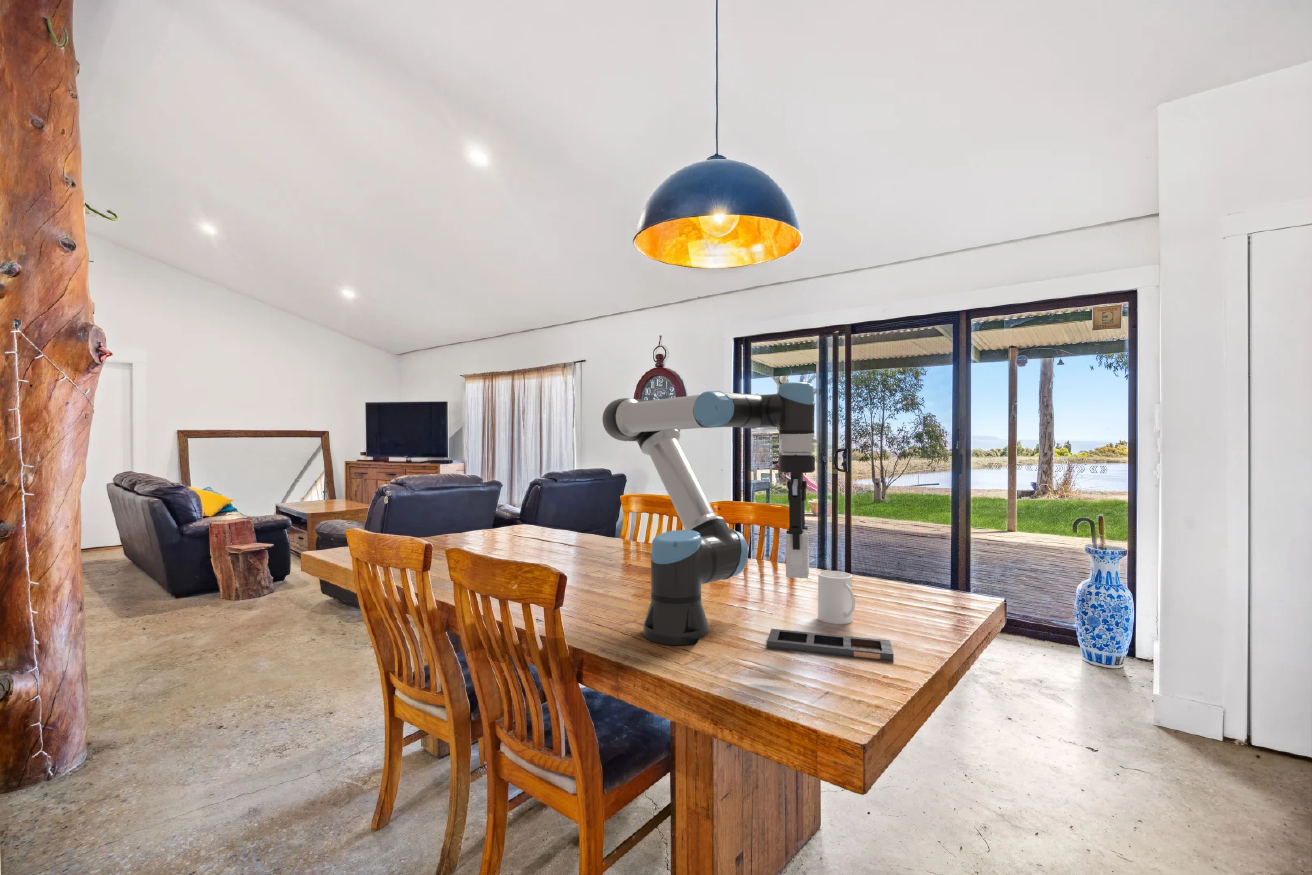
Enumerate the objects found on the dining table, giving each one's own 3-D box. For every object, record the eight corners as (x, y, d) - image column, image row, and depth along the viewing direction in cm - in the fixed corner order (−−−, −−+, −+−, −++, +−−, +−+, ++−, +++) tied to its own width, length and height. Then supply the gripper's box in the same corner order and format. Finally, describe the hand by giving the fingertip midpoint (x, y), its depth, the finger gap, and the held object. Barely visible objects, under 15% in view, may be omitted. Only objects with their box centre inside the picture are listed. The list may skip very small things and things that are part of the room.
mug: (867, 631, 138) (867, 580, 138) (834, 633, 136) (834, 582, 136) (841, 616, 150) (841, 569, 150) (811, 618, 148) (811, 571, 148)
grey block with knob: (786, 576, 125) (785, 532, 125) (788, 572, 129) (787, 529, 129) (807, 578, 123) (807, 533, 123) (809, 573, 128) (808, 530, 128)
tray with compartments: (767, 652, 124) (767, 641, 124) (771, 639, 132) (771, 628, 132) (893, 666, 117) (893, 654, 117) (889, 651, 125) (889, 640, 125)
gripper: (812, 455, 117) (813, 571, 117) (816, 453, 134) (817, 555, 133) (774, 454, 119) (775, 569, 119) (783, 453, 136) (783, 553, 136)
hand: (797, 561), depth 126 cm, fingers closed on grey block with knob, 4 cm apart
